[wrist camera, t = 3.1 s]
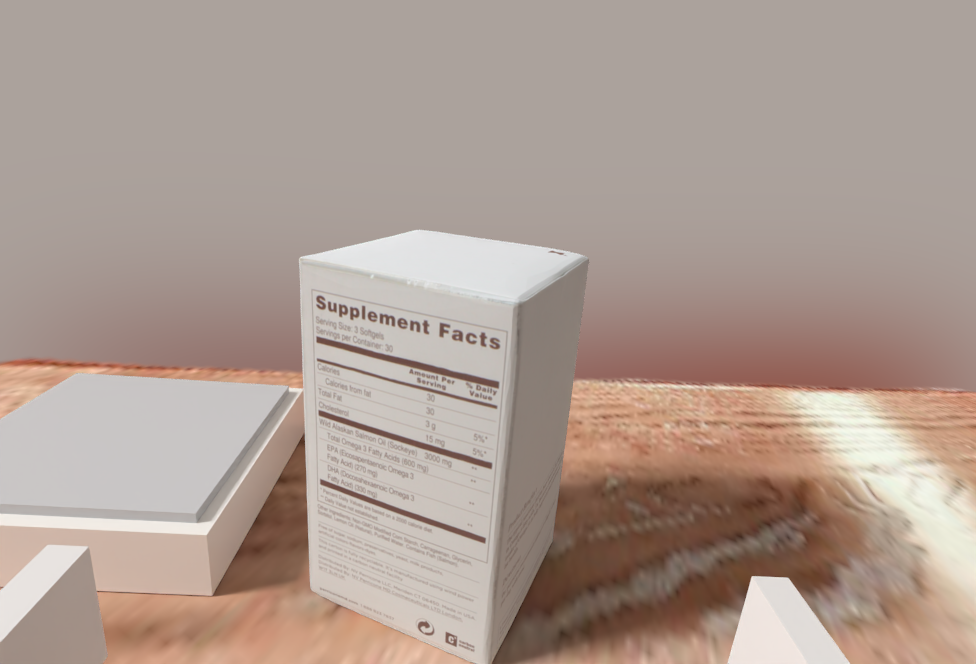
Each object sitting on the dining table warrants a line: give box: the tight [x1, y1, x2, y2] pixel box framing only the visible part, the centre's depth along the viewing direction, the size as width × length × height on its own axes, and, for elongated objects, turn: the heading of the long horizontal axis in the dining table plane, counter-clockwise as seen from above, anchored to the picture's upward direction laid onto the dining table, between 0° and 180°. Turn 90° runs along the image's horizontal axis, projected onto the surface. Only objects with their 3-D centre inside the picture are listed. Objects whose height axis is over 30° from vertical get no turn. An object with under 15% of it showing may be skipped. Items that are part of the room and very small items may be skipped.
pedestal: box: [0, 373, 305, 596], centre depth 25 cm, size 12×12×3 cm
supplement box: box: [299, 230, 589, 664], centre depth 21 cm, size 7×7×13 cm
